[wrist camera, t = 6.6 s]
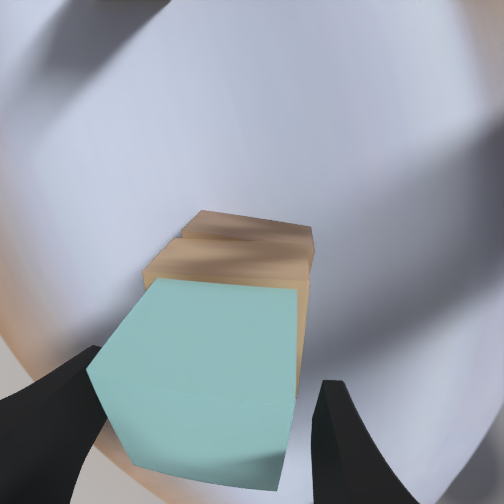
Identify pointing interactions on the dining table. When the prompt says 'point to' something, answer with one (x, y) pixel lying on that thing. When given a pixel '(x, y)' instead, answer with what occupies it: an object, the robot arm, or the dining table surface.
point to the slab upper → (239, 269)
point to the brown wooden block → (247, 230)
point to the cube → (203, 381)
